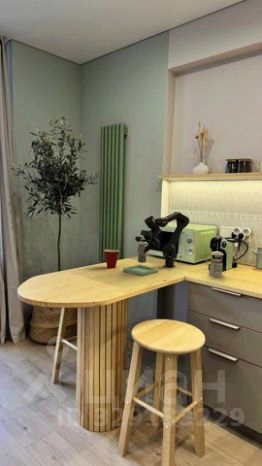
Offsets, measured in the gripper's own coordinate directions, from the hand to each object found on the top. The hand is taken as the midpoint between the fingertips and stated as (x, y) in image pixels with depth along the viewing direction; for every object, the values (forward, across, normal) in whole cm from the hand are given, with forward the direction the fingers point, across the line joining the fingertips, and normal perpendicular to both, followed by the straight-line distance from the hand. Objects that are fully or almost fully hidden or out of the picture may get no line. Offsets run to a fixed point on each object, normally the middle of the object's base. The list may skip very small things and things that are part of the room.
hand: (140, 251), depth 204 cm
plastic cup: (+14, -22, +5) cm, 26 cm away
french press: (-15, +33, +34) cm, 50 cm away
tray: (+8, -1, +10) cm, 13 cm away
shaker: (+4, 0, +6) cm, 7 cm away
